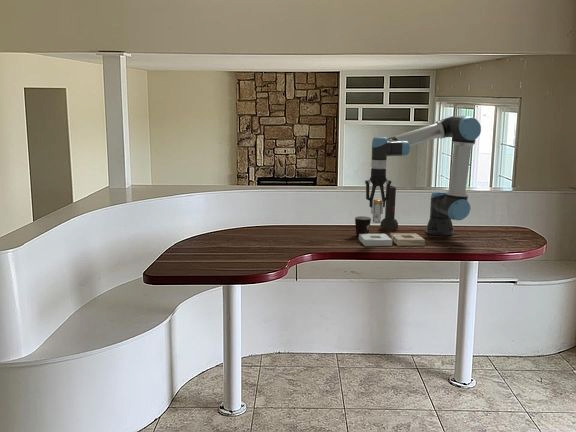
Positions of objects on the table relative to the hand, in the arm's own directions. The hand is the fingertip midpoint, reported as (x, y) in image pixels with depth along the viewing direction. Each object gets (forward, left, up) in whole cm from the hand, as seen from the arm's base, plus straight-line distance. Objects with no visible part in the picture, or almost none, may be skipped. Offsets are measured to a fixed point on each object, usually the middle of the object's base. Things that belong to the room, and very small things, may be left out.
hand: (376, 213), depth 325 cm
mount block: (0, 0, -15) cm, 15 cm away
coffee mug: (-15, -2, -16) cm, 22 cm away
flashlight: (-31, +16, -16) cm, 38 cm away
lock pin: (0, 0, -5) cm, 5 cm away
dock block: (0, +17, -15) cm, 23 cm away
